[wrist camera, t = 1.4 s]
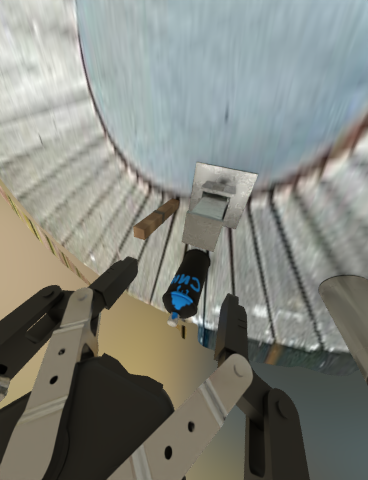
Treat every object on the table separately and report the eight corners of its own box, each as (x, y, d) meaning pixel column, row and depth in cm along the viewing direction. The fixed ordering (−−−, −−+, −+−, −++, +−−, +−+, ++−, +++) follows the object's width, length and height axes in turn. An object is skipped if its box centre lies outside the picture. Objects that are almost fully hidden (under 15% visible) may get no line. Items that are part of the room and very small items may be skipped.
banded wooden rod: (179, 200, 35) (144, 229, 23) (178, 208, 36) (144, 240, 24) (171, 198, 36) (133, 226, 23) (171, 206, 37) (133, 236, 24)
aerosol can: (208, 272, 45) (190, 341, 29) (184, 266, 47) (154, 326, 31) (212, 252, 40) (193, 320, 24) (185, 246, 42) (151, 305, 26)
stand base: (257, 173, 27) (261, 180, 22) (235, 227, 34) (234, 242, 29) (197, 162, 29) (187, 165, 24) (188, 214, 36) (179, 226, 31)
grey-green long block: (231, 190, 29) (223, 222, 17) (224, 211, 32) (213, 252, 19) (209, 185, 30) (186, 212, 18) (204, 206, 33) (181, 241, 20)
